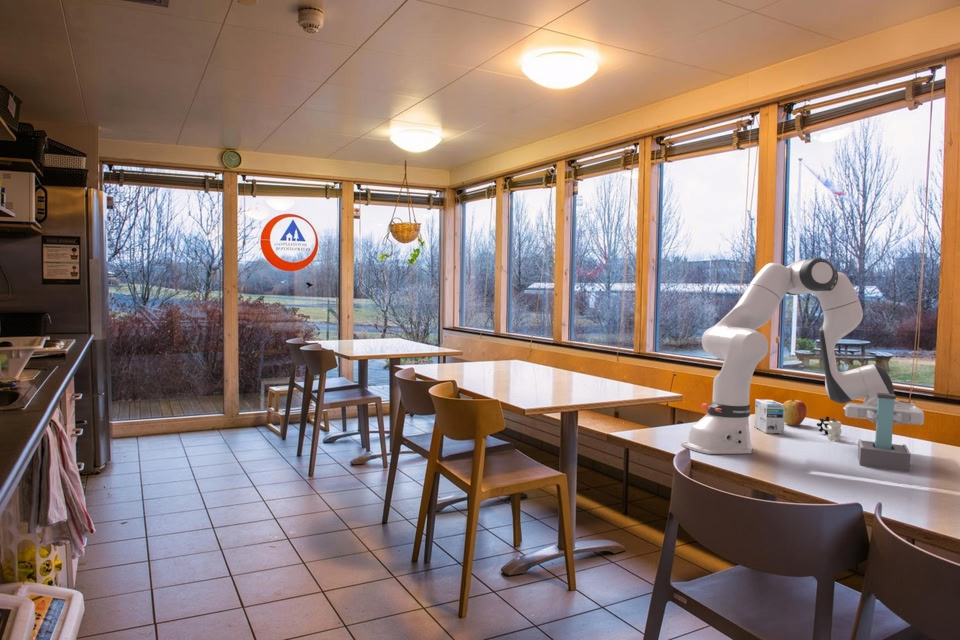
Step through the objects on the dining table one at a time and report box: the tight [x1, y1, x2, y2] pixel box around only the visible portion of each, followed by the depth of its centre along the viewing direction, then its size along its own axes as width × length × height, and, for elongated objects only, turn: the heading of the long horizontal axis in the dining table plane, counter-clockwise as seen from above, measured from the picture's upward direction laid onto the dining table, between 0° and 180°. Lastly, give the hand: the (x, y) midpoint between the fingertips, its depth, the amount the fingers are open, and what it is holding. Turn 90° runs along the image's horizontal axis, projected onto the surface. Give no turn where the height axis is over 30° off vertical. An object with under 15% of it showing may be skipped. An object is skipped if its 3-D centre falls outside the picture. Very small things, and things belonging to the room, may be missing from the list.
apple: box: [782, 398, 807, 426], centre depth 247 cm, size 9×9×10 cm
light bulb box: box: [754, 398, 785, 435], centre depth 234 cm, size 11×7×11 cm, turn 179°
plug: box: [874, 393, 897, 449], centre depth 188 cm, size 4×4×18 cm
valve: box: [816, 415, 842, 442], centre depth 226 cm, size 7×7×12 cm
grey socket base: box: [857, 438, 911, 473], centre depth 188 cm, size 12×12×6 cm
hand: (885, 417), depth 187 cm, fingers closed on plug, 4 cm apart
